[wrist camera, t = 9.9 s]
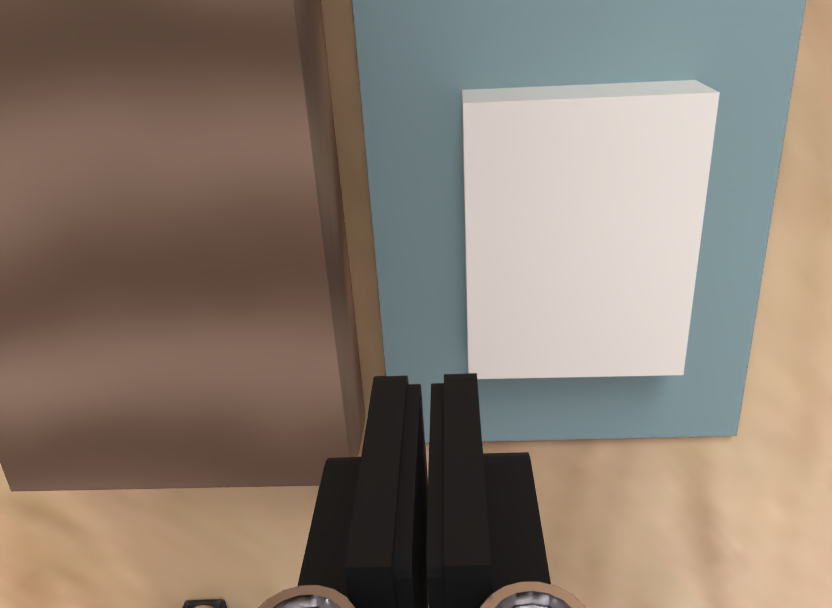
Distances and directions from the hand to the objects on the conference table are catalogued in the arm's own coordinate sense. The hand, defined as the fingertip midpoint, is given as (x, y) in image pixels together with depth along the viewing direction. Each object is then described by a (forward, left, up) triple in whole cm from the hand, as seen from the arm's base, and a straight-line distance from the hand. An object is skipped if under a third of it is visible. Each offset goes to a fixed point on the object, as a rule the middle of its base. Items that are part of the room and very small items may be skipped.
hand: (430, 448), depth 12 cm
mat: (0, +4, -14) cm, 14 cm away
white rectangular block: (+1, +4, -12) cm, 13 cm away
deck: (+1, -9, -14) cm, 17 cm away
